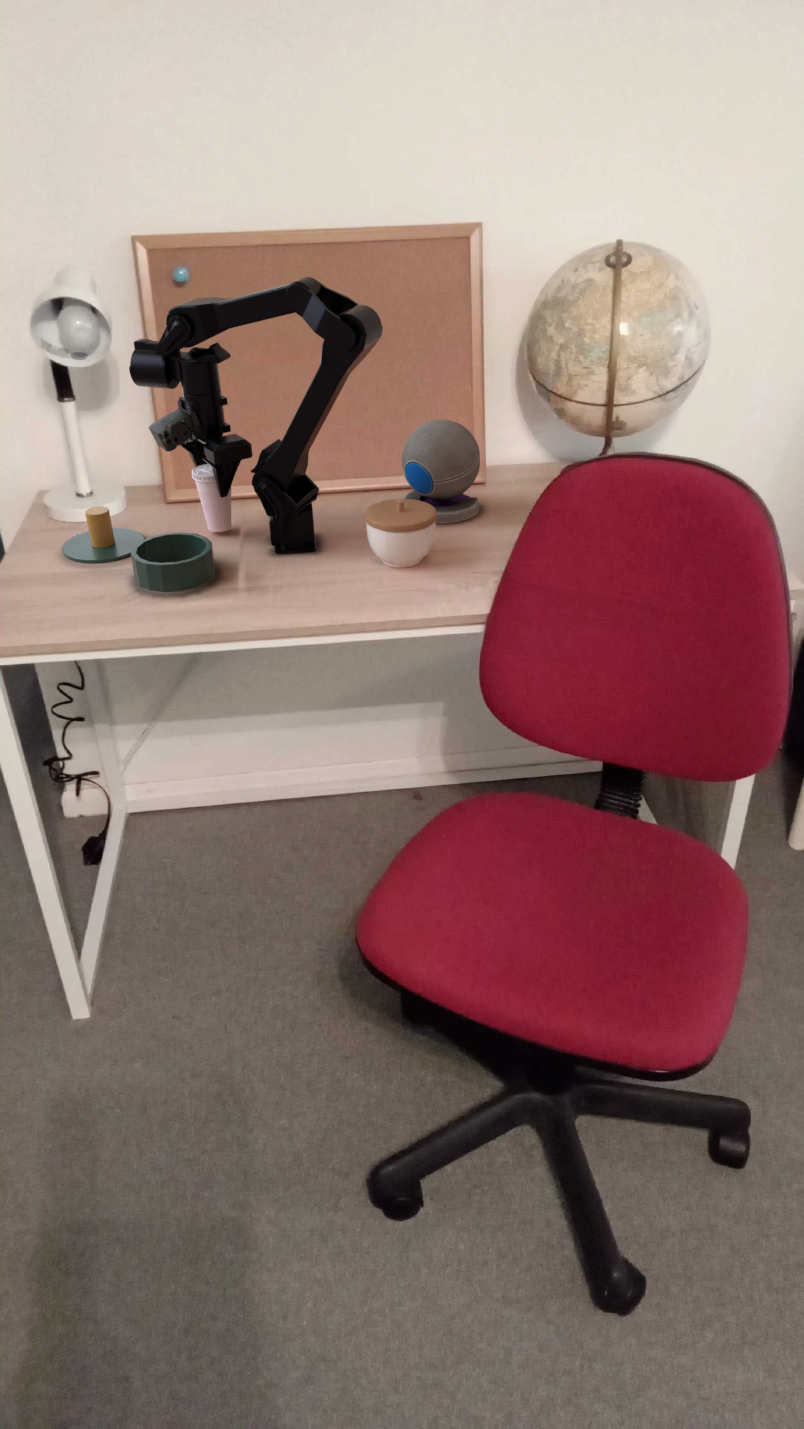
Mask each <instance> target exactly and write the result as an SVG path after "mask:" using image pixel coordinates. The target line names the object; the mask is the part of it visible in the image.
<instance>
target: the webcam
mask: <svg viewBox="0 0 804 1429" xmlns="http://www.w3.org/2000/svg"><path fill="white" fill-rule="evenodd" d="M480 452H481V451H480V447H479V444H478V442H477V440H476V438H475V436H474V435H473V434H472V432H470V430H469V429H467V427H465V426H464V425H462V424H461V423H458V422H456V421H453V420H451V419H450V420H449V419H440V418H439V419H432V420H429V421H427V422H425V423H422V424H421V425H419V426H418V427H417V428H415V429H414V430H413V431H412V432H411V433H410V435H409V436H408V438H407V440H406V441H405V444H404V447H403V449H402V454H401V469H402V472H403V476H404V478H405V480H406V482H407V483H408V485H409V487H410V488H412V489H413V490H412V491H410V492H408V493H407V494H406V495H405V496H404V498H403V499H413V500H419V501H423V502H426V503H428V504H430V505H432V506H433V507H434V508H435V509H436V524H452V523H453V524H454V523H459V522H462V521H466V520H468V519H469V520H470V519H472V518H473V517H474V516H476V515H477V514H478V513H479V511H480V500H479V498H478V497H475V496H474V497H473V496H472V497H471V496H469V495H468V494H465V492H466V491H468V490H469V489H470V488H471V486H472V485H473V484H474V483H475V481H476V479H477V477H478V475H479V471H480V468H481V453H480Z"/></svg>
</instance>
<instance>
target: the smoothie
mask: <svg viewBox="0 0 804 1429" xmlns="http://www.w3.org/2000/svg"><path fill="white" fill-rule="evenodd" d="M191 479H192V480H194V482H195V486H196V490H197V493H198V497H199V500H200V504H201V507H202V511H203V516H204V518H205V522H206V526H207V529H208V531H210V532H212V533H224V532H226V531H229V530H231V529H232V486H231V487H230V490H229V493H228V495H227V496H226V497H223V498H222V497H220V495H219V491H218V488H217V485H216V481H215V477H214V473H213V470H212V467H211V466H210V465H209V464H204V465H200V466H197V467H195V466H194V468H192V470H191Z"/></svg>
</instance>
